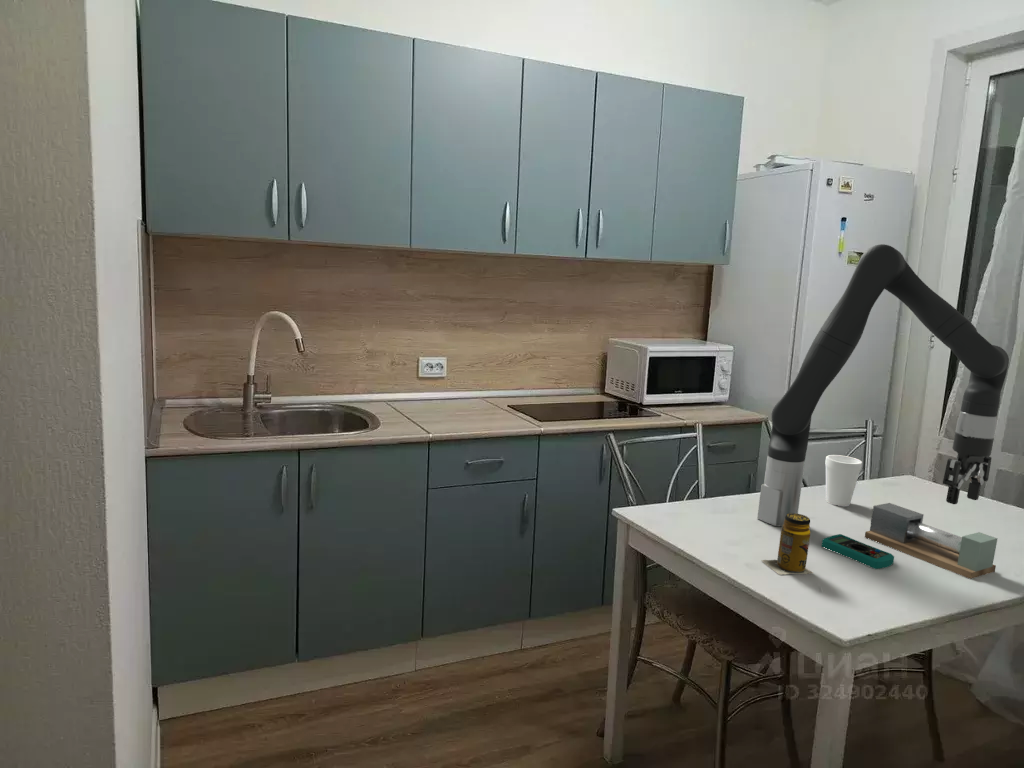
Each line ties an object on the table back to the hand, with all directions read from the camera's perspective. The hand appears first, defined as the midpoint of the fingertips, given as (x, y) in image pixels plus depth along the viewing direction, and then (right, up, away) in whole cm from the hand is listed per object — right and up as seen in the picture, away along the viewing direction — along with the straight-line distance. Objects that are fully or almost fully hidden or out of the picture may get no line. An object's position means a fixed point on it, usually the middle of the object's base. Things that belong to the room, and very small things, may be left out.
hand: (961, 501), depth 168 cm
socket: (+2, -14, -2) cm, 15 cm away
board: (-4, -14, +8) cm, 16 cm away
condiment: (-42, -14, -5) cm, 45 cm away
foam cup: (-9, -8, +43) cm, 45 cm away
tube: (-3, -12, +5) cm, 13 cm away
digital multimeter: (-22, -14, +4) cm, 27 cm away
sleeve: (-8, -11, +15) cm, 20 cm away
